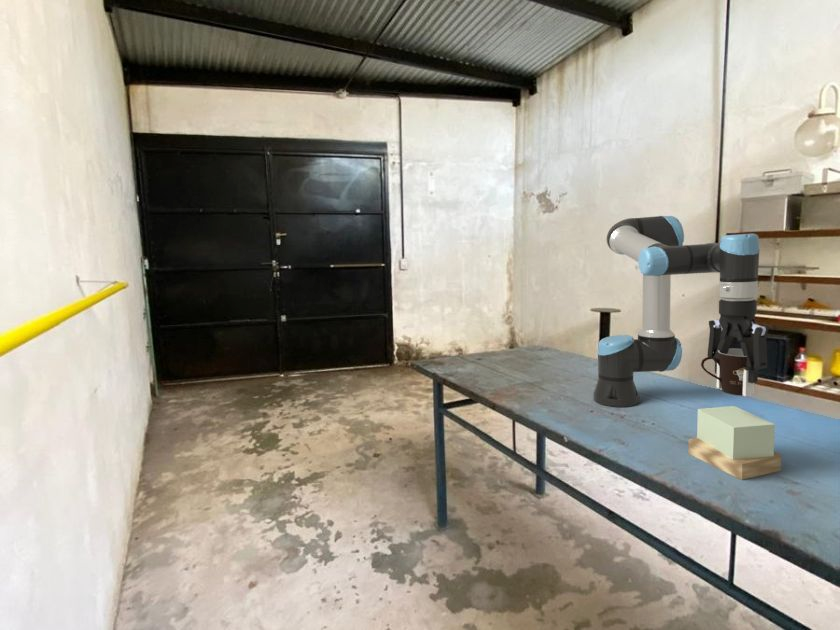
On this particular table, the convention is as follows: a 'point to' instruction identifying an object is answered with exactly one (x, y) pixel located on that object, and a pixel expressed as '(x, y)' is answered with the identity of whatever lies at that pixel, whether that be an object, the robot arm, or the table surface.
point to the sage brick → (736, 432)
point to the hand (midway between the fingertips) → (734, 390)
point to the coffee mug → (730, 370)
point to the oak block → (734, 461)
